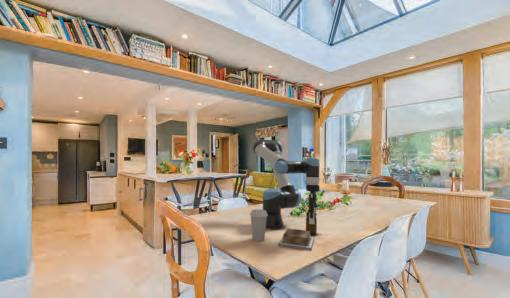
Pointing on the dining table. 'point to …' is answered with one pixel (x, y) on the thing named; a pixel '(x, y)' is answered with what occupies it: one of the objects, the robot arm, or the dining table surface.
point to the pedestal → (296, 237)
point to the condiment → (312, 226)
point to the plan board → (298, 245)
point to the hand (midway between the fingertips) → (312, 221)
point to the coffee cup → (258, 224)
